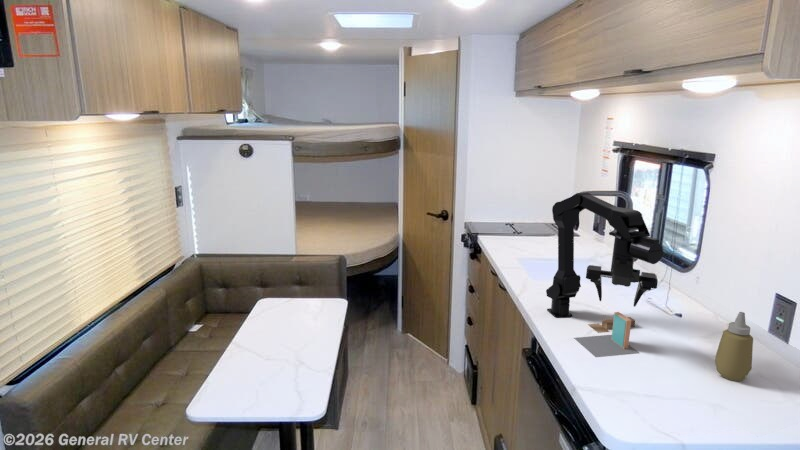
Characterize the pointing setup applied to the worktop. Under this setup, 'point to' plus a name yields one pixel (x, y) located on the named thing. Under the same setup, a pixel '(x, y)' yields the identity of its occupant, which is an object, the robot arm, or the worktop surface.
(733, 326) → the squeeze bottle
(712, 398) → the worktop surface
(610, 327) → the turner
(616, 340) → the tile
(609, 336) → the mat
